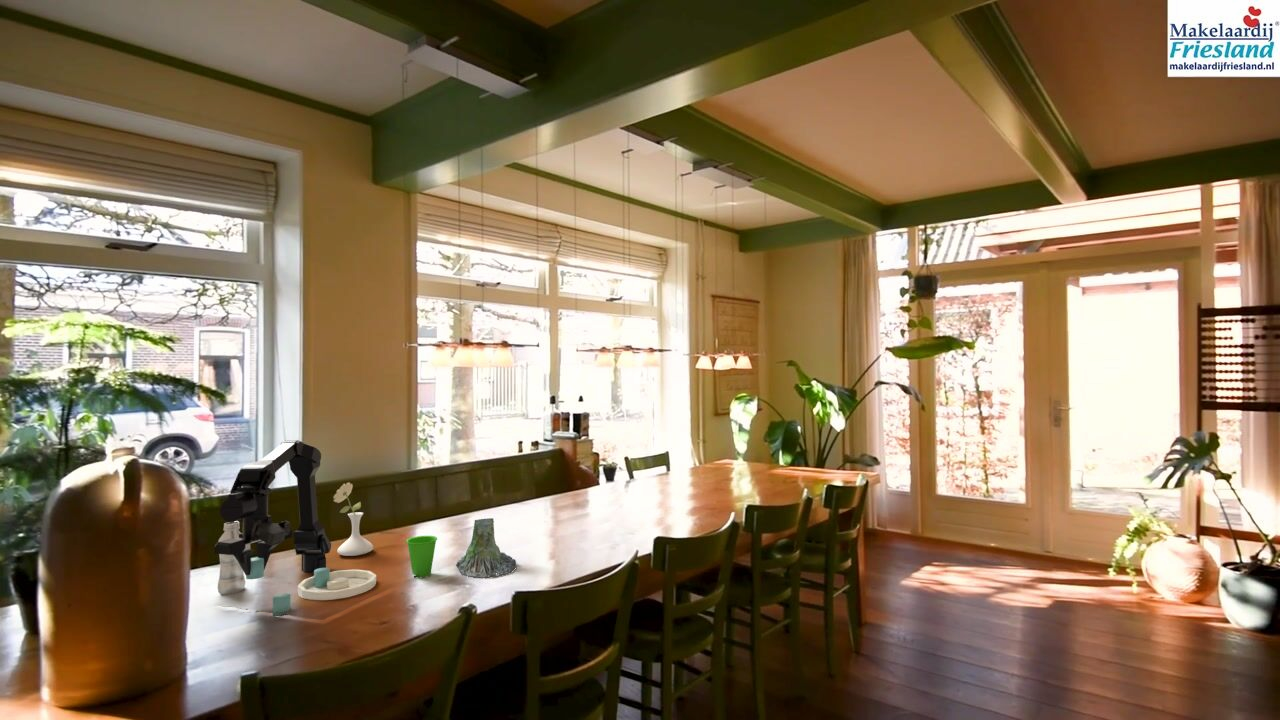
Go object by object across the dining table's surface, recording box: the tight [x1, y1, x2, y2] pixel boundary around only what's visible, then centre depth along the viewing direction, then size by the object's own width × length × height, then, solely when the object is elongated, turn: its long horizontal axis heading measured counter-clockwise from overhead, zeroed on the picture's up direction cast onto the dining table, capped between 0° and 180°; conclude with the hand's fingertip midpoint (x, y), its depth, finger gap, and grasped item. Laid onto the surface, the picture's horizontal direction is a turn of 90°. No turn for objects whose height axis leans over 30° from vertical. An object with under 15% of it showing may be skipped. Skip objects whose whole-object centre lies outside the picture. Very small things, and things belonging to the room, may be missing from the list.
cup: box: [405, 535, 438, 579], centre depth 195 cm, size 9×9×11 cm
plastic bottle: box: [217, 520, 246, 596], centre depth 179 cm, size 6×7×20 cm
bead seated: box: [313, 567, 331, 588], centre depth 183 cm, size 4×4×4 cm
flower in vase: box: [332, 482, 374, 557], centre depth 218 cm, size 13×11×25 cm
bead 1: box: [245, 557, 265, 580], centre depth 167 cm, size 4×4×4 cm
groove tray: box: [297, 568, 377, 601], centre depth 181 cm, size 20×20×3 cm
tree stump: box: [455, 518, 517, 579], centre depth 203 cm, size 18×20×18 cm
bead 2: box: [272, 592, 292, 617], centre depth 165 cm, size 4×4×4 cm
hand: (255, 572), depth 167 cm, fingers closed on bead 1, 4 cm apart
